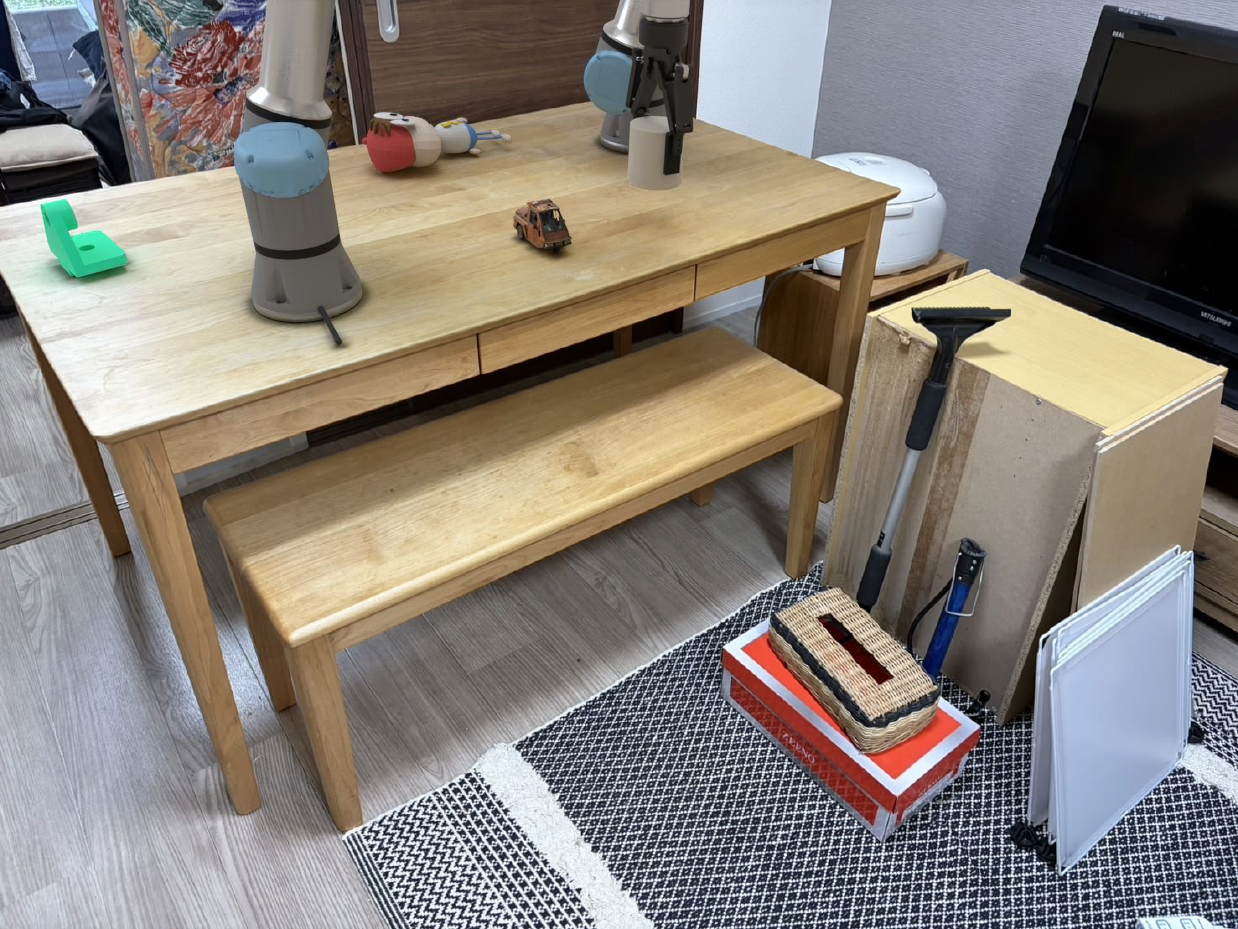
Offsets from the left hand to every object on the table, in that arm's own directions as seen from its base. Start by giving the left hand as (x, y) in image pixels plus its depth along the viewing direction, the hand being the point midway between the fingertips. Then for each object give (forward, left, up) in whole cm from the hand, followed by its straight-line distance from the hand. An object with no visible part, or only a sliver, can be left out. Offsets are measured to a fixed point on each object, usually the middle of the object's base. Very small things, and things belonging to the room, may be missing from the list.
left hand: (655, 164), depth 154 cm
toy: (+47, +21, -10) cm, 52 cm away
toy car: (+1, +21, -10) cm, 23 cm away
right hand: (+56, +15, +18) cm, 60 cm away
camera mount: (+25, +86, -10) cm, 90 cm away
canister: (0, 0, -3) cm, 3 cm away
